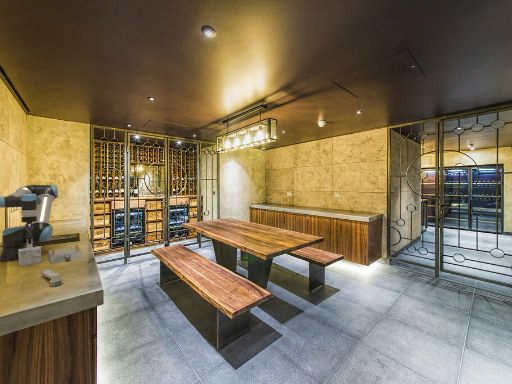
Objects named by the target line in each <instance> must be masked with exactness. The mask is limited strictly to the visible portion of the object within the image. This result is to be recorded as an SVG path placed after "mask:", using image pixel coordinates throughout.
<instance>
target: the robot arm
mask: <svg viewBox="0 0 512 384" xmlns="http://www.w3.org/2000/svg"><path fill="white" fill-rule="evenodd" d="M58 198H59V192H58V188H57V185H55V184H30V185H24V186H21V187H19V188H17V189H16V190H15V191H14V192H12V193H11V194H9V195H7V196H0V208H1V209H2V208H4V209H5V208H7V209H8V208H21V211H19V213H20V214H21V223H26V224H24V225H19V226H13V227H7V228H5V229H3V230H2V235H1V236H2V238H1V239H2V242H1V244H2V249H1V252H0V262H12V261H19V255H18V249H24V248H27V249H31V248H33V247H34V246H33V244H34V243H43V242H47V241H50V240H51V239H52V236H53V231H54V228H53V226H52V225H51V224H50V219H51V212H52V205H53V202H54V201H55V200H56V199H58Z"/></svg>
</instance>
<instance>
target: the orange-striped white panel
mask: <svg viewBox="0 0 512 384" xmlns="http://www.w3.org/2000/svg"><path fill="white" fill-rule="evenodd" d="M47 253H48V259H49V263H50V264H57V263H61V262H68V261H73V260H79V259H83V258H84V251H83V250H82V249H81V247H80V246H79V245H78V244H76V243H75V245H74V246H71V247H66V248H65V247H64V248H58V249H55V247H51V250H48V252H47Z"/></svg>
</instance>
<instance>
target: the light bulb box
mask: <svg viewBox="0 0 512 384" xmlns="http://www.w3.org/2000/svg"><path fill="white" fill-rule="evenodd" d="M18 255H19V260H18V266H19V267H25V266H30V265H34V264H39V263H42V247H40V246H39V245H37V246H33V248H31V249H27V247H26V248H24V249H18Z"/></svg>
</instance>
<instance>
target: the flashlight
mask: <svg viewBox="0 0 512 384" xmlns="http://www.w3.org/2000/svg"><path fill="white" fill-rule="evenodd" d="M41 276H42V277H44V278H48V279H50V280H49V283H50V287H55V286H56V287H57V286H61V285H62V284H63V280H64V278H62V276H61V273H60V272H59V273H58V272H57V273H55V272H54V271H53V270H51V269H49V268H47V269H43V270H42V271H41Z"/></svg>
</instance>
